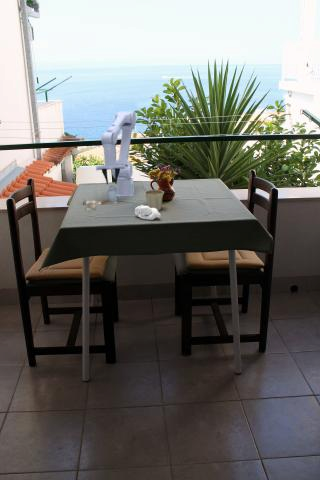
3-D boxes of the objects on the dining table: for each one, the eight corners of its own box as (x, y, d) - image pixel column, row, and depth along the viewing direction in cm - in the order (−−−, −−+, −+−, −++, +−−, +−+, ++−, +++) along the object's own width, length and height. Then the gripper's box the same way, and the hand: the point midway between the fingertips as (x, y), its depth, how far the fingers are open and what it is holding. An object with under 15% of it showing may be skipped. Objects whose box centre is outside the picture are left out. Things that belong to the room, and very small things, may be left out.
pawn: (116, 200, 256) (116, 184, 253) (117, 202, 252) (116, 186, 249) (108, 200, 255) (107, 184, 252) (108, 203, 251) (107, 187, 248)
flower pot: (154, 205, 247) (154, 188, 244) (168, 209, 241) (168, 191, 238) (140, 209, 241) (140, 192, 238) (154, 213, 235) (153, 195, 232)
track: (116, 200, 256) (116, 197, 256) (116, 204, 251) (116, 200, 250) (83, 202, 255) (83, 198, 254) (83, 205, 249) (83, 201, 249)
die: (95, 208, 245) (94, 200, 244) (95, 210, 241) (94, 202, 240) (87, 208, 245) (86, 201, 243) (86, 211, 241) (86, 203, 240)
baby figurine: (163, 220, 226) (155, 208, 220) (139, 229, 229) (131, 217, 223) (162, 207, 231) (154, 195, 226) (139, 216, 235) (130, 204, 229)
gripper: (95, 159, 241) (97, 186, 246) (125, 157, 242) (126, 184, 247) (95, 156, 247) (97, 182, 252) (124, 155, 249) (125, 181, 254)
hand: (111, 183), depth 250 cm, fingers open, 4 cm apart
